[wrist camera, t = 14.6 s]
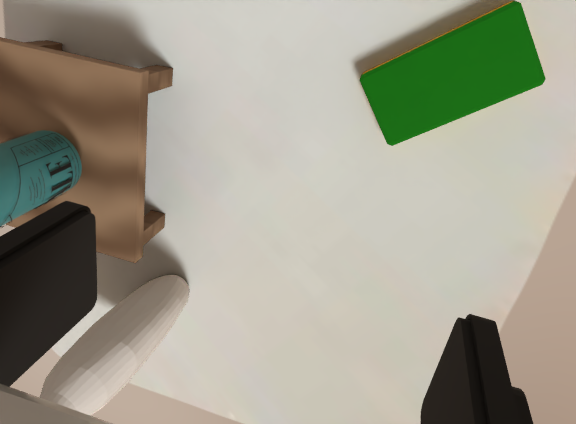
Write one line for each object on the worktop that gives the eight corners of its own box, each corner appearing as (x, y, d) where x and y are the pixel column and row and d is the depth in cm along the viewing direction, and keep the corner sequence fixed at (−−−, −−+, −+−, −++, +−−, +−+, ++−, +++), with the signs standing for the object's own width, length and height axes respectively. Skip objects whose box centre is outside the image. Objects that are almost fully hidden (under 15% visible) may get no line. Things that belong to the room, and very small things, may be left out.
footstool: (41, 33, 50) (-16, 37, 44) (178, 63, 48) (139, 72, 41) (52, 199, 59) (6, 224, 52) (168, 232, 56) (135, 263, 50)
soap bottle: (148, 341, 65) (-10, 538, 41) (110, 297, 63) (-78, 475, 39) (223, 300, 59) (89, 505, 35) (183, 250, 57) (13, 428, 33)
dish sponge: (540, 78, 41) (547, 82, 38) (389, 141, 46) (388, 147, 44) (514, -1, 39) (519, -2, 37) (360, 73, 44) (357, 76, 42)
